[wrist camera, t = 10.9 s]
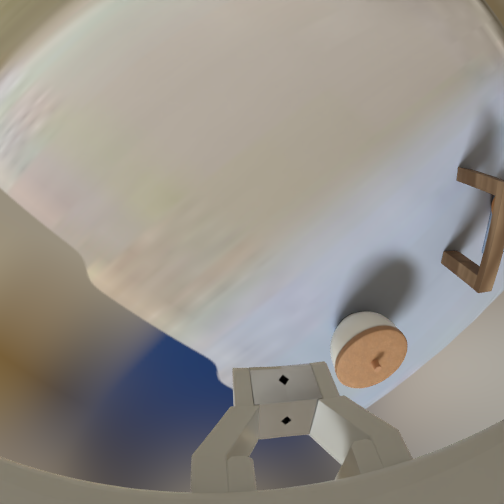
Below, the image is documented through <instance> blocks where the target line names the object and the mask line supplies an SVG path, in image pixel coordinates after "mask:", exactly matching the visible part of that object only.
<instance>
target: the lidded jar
mask: <svg viewBox="0 0 504 504" xmlns="http://www.w3.org/2000/svg"><path fill="white" fill-rule="evenodd" d="M330 352H331V359H332V362H333V365H334V368H335V372H336V375H337V377H338V379H339V381H340V382H341V383H342V384H344V385H346V386H348V387H351V388H365V387H369V386H373V385H375V384H378V383H380V382H382V381H383V380H385V379H386V378H388V377H389V376H390V375H392V374H393V373H394V372H395V371H396V370H397V369H398V368H399V366H400V365H401V363H402V362H403V360H404V358H405V356H406V352H407V340H406V338H405V336H404V335H403V333H402V332H401V331H400V330H399V329H398V328H397V327H396V326H395V325H394V324H393V323H392V322H391V321H390V320H389V319H388V318H386V317H385V316H383V315H381V314H379V313H376V312H370V311H363V312H358V313H353V314H351V315H349V316H347V317H346V318H344V319H343V320H342V321H341V322H340V324H339V325H338V327H337V328H336V330H335V331H334V333H333V336H332V339H331V344H330Z"/></svg>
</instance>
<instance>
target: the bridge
mask: <svg viewBox="0 0 504 504" xmlns="http://www.w3.org/2000/svg"><path fill="white" fill-rule="evenodd" d="M457 181H459V182H462V183H465V184H467V185H470V186H472V187H475V188H478V189H480V190H483V191H485V192H488V193H490V194H492V195H495V202H494V208H493V213H492V218H491V223H490V228H489V232H488V237H487V241H486V245H485V249H484V253H483V257H482V261H481V264H480V266H478V265H477V264H475V263H474V262H473V261H471V260H470V259H468V258H467V257H466V256H464V255H463V254H461V253H460V252H458V251H444V252H443V257H442V261H441V263H442V264H443V265H444V266H445V267H447V268H448V269H449V270H451V271H452V272H453V273H454V274H456V275H457V276H458V277H459V278H461V279H462V280H463V281H464V282H465V283H467V284H468V285H469V286H470V287H472V288H473V289H474V290H475V291H476V292H478V293H482V292H488V291H491V290H492V287H493V284H494V281H495V278H496V275H497V272H498V268H499V265H500V261H501V258H502V254H503V250H504V180H502V179H499V178H496V177H493V176H490V175H487V174H484V173H481V172H478V171H475V170H472V169H466V168H461V167H458V173H457Z"/></svg>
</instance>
